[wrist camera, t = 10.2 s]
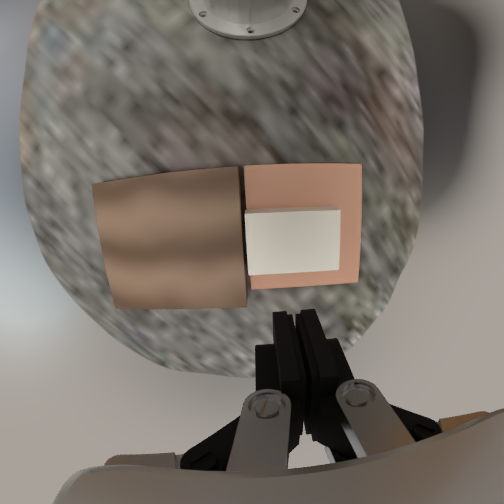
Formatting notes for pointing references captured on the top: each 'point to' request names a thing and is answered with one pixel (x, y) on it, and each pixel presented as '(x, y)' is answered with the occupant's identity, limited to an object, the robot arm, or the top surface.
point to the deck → (173, 239)
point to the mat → (311, 195)
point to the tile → (292, 239)
